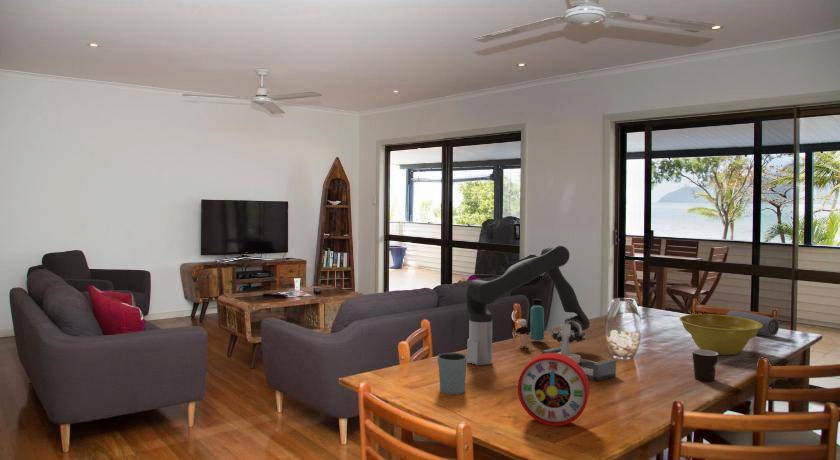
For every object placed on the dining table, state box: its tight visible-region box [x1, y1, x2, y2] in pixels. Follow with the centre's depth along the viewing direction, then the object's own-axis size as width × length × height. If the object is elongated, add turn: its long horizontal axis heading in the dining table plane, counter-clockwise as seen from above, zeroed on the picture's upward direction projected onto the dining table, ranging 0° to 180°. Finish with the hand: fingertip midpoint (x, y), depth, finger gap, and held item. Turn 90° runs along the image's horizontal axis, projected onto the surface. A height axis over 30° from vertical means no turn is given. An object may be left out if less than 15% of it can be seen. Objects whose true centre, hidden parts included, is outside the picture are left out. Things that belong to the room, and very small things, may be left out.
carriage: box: [558, 323, 581, 363], centre depth 230 cm, size 8×8×15 cm
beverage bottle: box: [529, 298, 545, 341], centre depth 272 cm, size 6×7×20 cm
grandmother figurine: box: [514, 318, 531, 349], centre depth 261 cm, size 8×4×13 cm, turn 108°
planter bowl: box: [679, 313, 763, 356], centre depth 255 cm, size 32×32×13 cm
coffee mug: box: [691, 349, 719, 383], centre depth 215 cm, size 12×9×10 cm
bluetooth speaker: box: [726, 310, 780, 336], centre depth 291 cm, size 23×9×10 cm, turn 25°
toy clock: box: [517, 353, 590, 427], centre depth 172 cm, size 20×6×20 cm, turn 69°
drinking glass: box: [437, 352, 468, 395], centre depth 201 cm, size 10×10×12 cm
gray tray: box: [541, 346, 617, 382], centre depth 225 cm, size 11×26×6 cm, turn 37°
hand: (564, 339), depth 227 cm, fingers open, 3 cm apart
